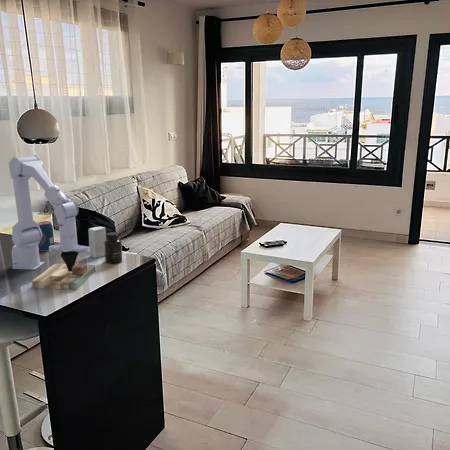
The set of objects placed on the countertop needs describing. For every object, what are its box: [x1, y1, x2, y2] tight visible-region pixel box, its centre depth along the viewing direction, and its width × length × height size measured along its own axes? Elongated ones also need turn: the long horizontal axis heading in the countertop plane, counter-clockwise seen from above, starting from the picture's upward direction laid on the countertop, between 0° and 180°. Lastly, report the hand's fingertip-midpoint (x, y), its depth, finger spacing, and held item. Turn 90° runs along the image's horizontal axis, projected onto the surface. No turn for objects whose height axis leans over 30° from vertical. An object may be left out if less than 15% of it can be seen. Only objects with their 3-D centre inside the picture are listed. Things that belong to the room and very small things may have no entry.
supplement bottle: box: [104, 231, 123, 265], centre depth 182 cm, size 7×7×12 cm
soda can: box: [37, 220, 56, 252], centre depth 198 cm, size 7×7×12 cm
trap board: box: [31, 263, 97, 291], centre depth 165 cm, size 16×18×2 cm
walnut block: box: [72, 263, 88, 275], centre depth 164 cm, size 4×4×3 cm
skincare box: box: [88, 225, 107, 259], centre depth 190 cm, size 6×4×12 cm
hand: (71, 270), depth 164 cm, fingers closed
